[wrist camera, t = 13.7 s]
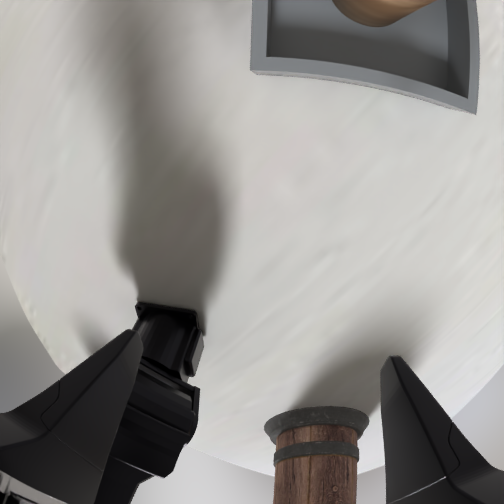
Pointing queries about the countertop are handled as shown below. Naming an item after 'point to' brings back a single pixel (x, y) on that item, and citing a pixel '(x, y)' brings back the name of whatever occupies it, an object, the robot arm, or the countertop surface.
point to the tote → (373, 49)
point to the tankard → (316, 454)
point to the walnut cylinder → (378, 10)
